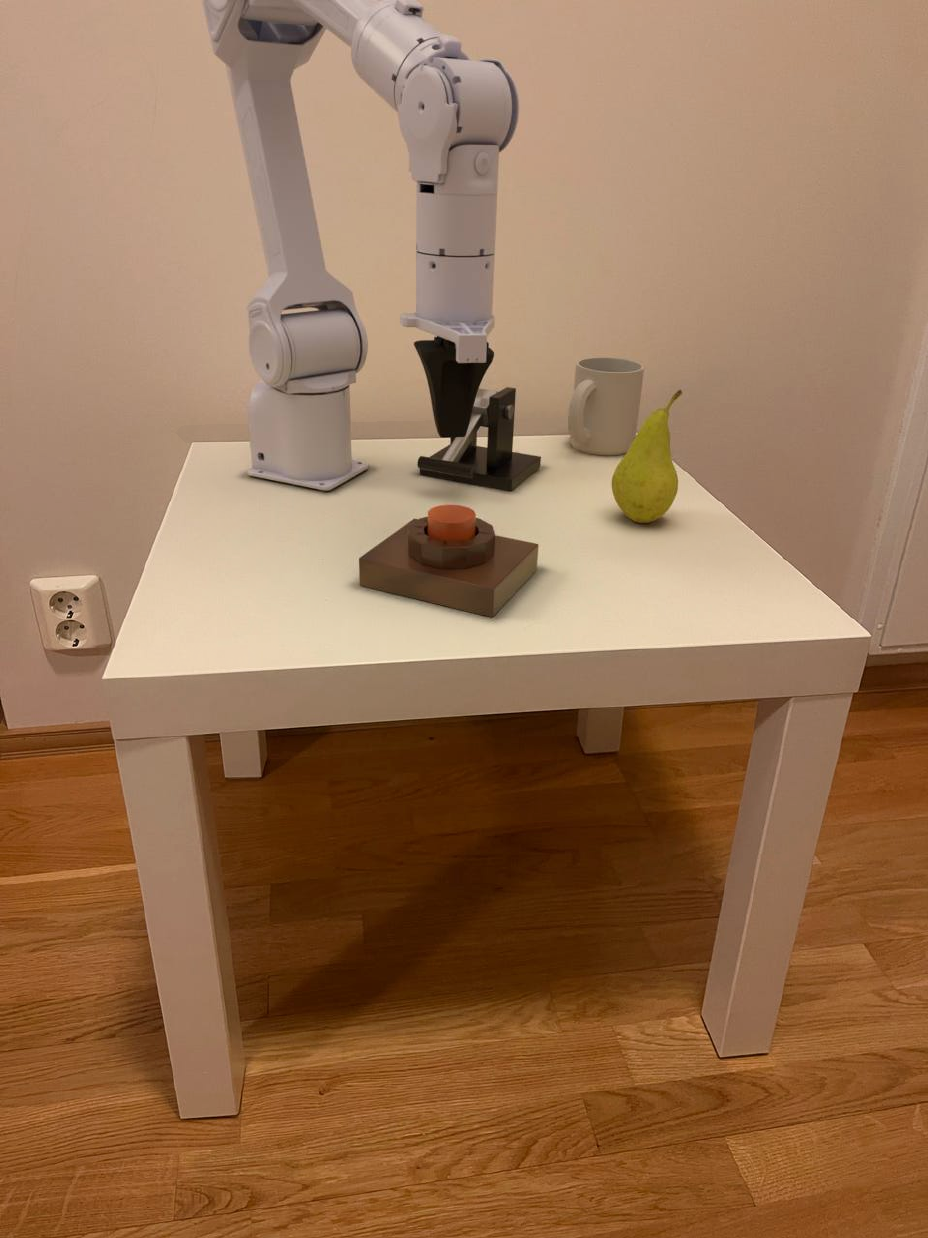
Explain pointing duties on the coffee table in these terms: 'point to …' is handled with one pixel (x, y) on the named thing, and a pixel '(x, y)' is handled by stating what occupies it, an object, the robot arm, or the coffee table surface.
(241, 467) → the coffee table surface
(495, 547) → the button block
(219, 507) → the coffee table surface
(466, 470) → the switch lever
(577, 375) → the cup
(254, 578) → the coffee table surface
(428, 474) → the switch bracket
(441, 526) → the button
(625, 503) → the fruit
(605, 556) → the coffee table surface
